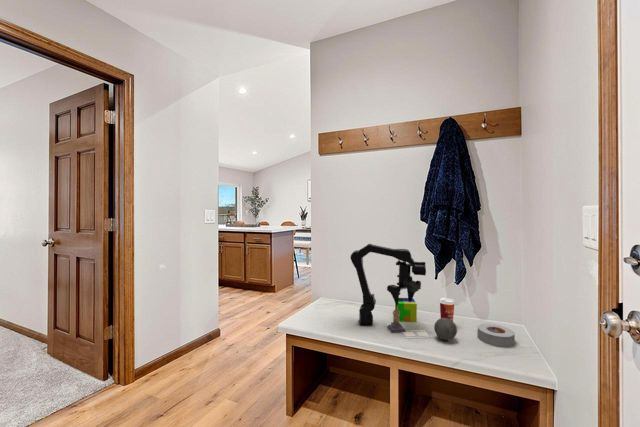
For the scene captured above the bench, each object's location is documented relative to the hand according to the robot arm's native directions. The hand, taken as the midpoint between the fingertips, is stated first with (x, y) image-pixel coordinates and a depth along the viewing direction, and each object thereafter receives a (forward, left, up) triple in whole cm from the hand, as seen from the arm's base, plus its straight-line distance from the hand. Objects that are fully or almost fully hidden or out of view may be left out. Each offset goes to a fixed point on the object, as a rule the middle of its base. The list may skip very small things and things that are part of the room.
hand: (403, 303), depth 162 cm
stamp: (-5, -3, -11) cm, 12 cm away
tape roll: (+39, -17, -13) cm, 45 cm away
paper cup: (+23, 0, -13) cm, 26 cm away
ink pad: (-5, -3, -12) cm, 14 cm away
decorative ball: (+15, -15, -13) cm, 25 cm away
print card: (+3, -9, -12) cm, 16 cm away
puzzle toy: (+5, +12, -13) cm, 18 cm away
